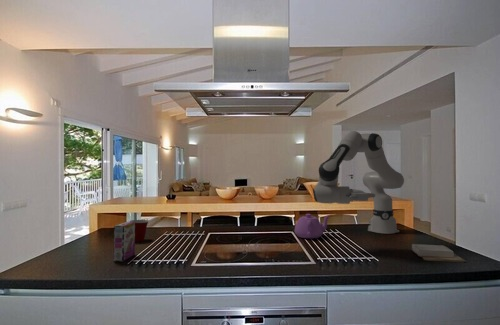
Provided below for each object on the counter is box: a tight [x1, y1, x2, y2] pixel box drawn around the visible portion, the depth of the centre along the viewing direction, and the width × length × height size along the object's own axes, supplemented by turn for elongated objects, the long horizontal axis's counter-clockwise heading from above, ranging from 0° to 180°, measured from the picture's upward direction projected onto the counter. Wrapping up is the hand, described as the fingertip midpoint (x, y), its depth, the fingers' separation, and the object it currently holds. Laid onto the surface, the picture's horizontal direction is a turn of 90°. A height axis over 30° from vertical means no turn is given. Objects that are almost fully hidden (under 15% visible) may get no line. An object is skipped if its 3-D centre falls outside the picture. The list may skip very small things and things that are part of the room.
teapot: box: [294, 213, 331, 239], centre depth 174 cm, size 22×22×14 cm
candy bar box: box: [113, 221, 136, 263], centre depth 136 cm, size 11×5×16 cm, turn 175°
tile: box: [411, 243, 455, 258], centre depth 135 cm, size 10×3×14 cm
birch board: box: [419, 253, 466, 263], centre depth 134 cm, size 16×16×1 cm
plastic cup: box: [129, 219, 150, 243], centre depth 169 cm, size 11×11×12 cm
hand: (374, 195), depth 143 cm, fingers closed
